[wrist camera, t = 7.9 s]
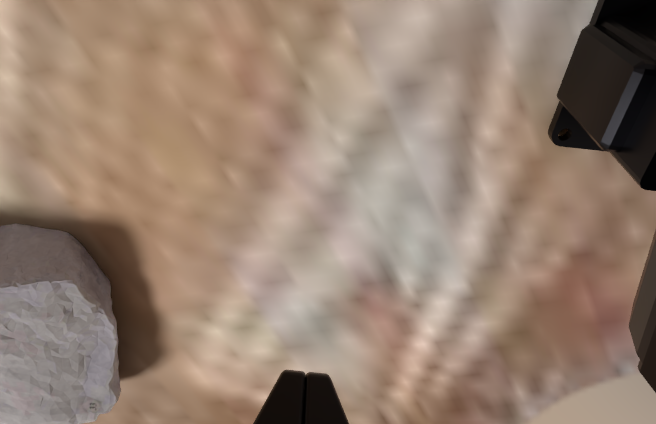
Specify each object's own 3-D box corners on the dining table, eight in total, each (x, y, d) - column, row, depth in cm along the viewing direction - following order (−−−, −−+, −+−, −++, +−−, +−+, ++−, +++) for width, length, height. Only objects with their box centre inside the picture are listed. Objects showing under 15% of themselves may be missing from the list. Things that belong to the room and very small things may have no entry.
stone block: (101, 198, 25) (-126, 222, 24) (83, 264, 21) (-189, 298, 20) (153, 353, 32) (-20, 379, 31) (145, 423, 29) (-52, 457, 27)
